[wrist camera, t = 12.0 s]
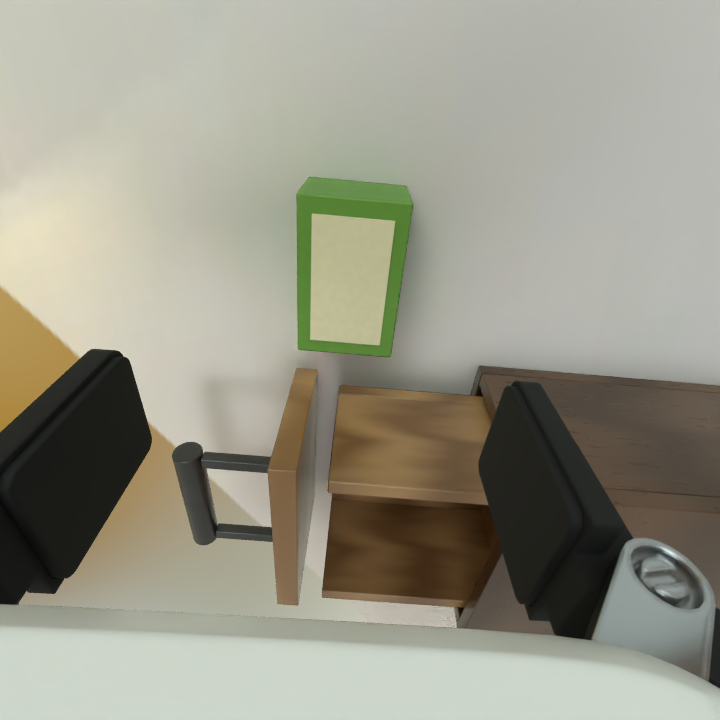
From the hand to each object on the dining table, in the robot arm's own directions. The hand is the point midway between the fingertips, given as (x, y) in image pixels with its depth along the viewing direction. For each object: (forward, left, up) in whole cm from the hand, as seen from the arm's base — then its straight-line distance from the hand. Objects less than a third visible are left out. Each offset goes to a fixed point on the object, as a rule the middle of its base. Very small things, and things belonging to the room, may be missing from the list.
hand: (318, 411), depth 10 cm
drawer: (+12, +2, -10) cm, 16 cm away
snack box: (0, 0, -11) cm, 11 cm away
